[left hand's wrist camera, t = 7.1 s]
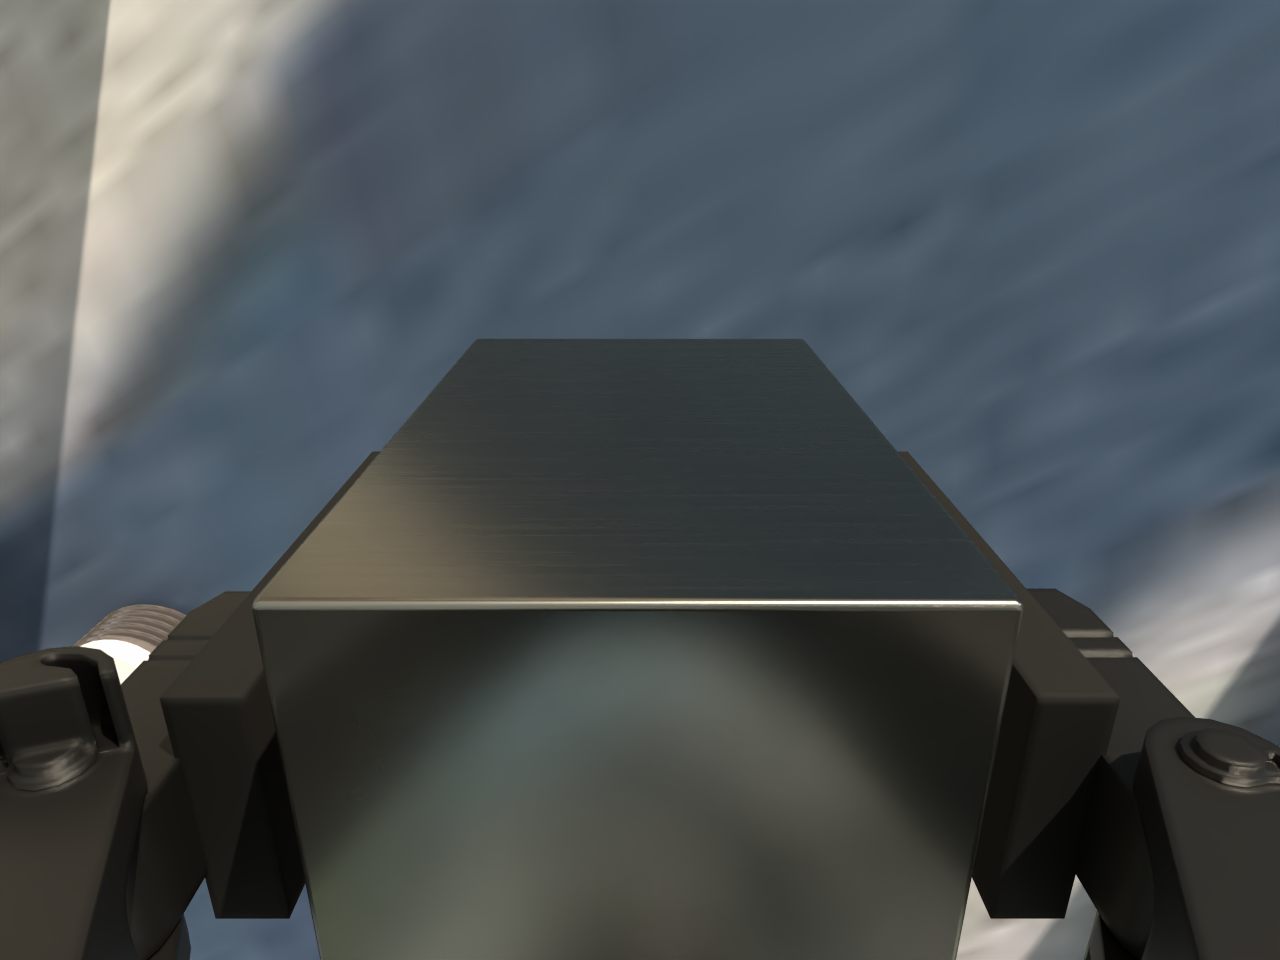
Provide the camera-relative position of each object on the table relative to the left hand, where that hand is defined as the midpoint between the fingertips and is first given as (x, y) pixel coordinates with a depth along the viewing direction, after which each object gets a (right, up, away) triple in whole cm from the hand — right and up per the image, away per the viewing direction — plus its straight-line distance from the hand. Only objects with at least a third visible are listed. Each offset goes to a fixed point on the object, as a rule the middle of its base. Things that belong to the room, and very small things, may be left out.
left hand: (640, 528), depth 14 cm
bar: (0, -9, +5) cm, 10 cm away
